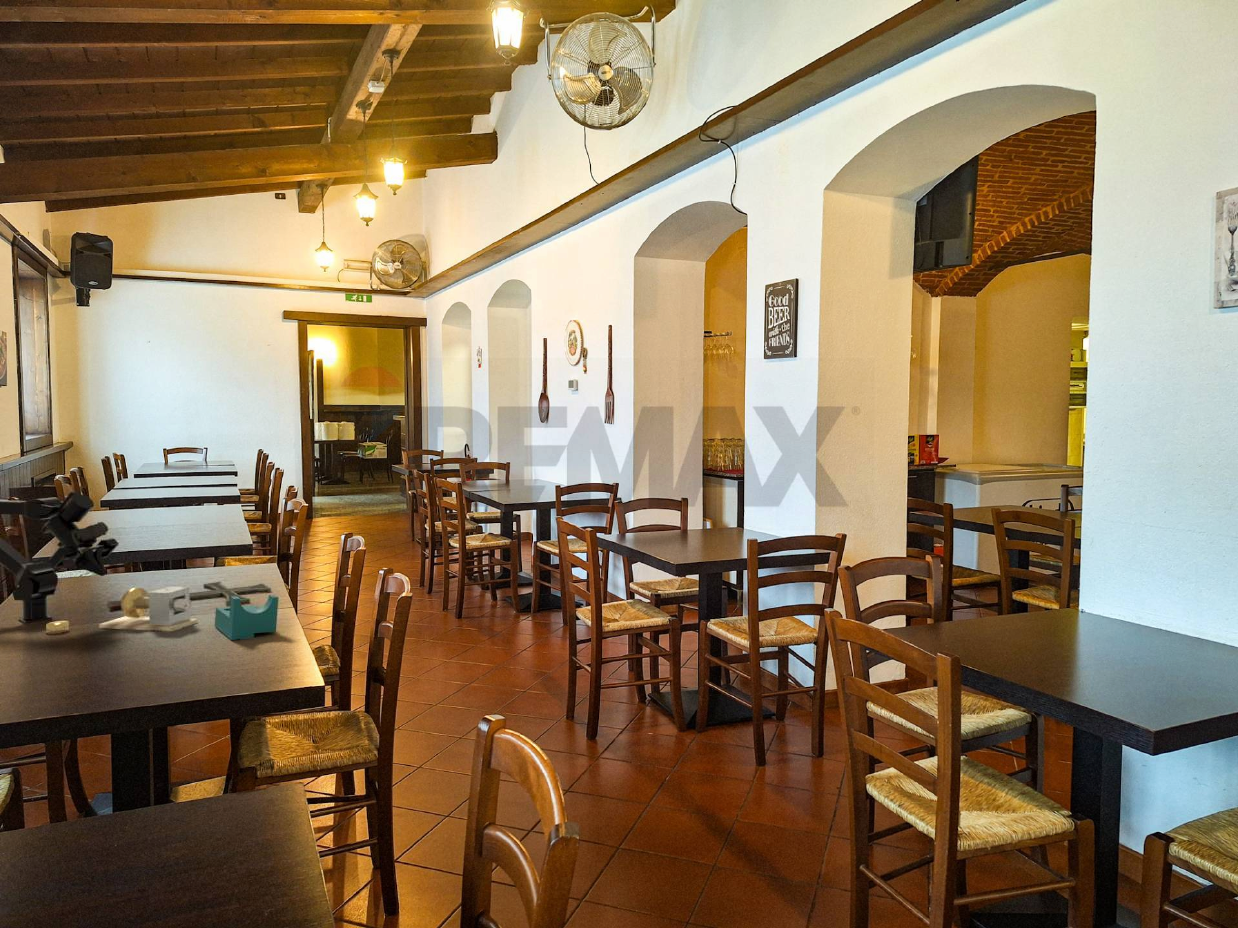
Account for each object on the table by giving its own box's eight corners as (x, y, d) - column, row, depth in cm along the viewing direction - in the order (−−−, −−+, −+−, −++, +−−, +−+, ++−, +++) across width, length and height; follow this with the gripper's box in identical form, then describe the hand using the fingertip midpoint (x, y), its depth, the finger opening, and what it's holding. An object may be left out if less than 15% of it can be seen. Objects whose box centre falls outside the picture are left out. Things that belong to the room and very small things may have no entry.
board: (99, 627, 226) (99, 624, 226) (127, 618, 235) (127, 615, 235) (172, 631, 222) (171, 627, 222) (197, 622, 231) (197, 618, 231)
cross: (101, 594, 262) (253, 577, 290) (101, 600, 262) (253, 583, 290) (116, 614, 234) (282, 594, 262) (116, 621, 235) (283, 600, 262)
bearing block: (149, 625, 224) (148, 592, 223) (170, 618, 232) (169, 586, 231) (169, 626, 223) (168, 593, 222) (190, 619, 231) (189, 587, 230)
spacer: (43, 632, 221) (43, 623, 221) (65, 628, 225) (64, 619, 225) (50, 635, 218) (50, 626, 218) (72, 631, 222) (71, 622, 222)
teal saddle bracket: (275, 636, 219) (278, 597, 219) (231, 639, 212) (234, 598, 212) (256, 623, 233) (259, 586, 233) (214, 626, 226) (217, 587, 226)
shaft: (121, 620, 225) (120, 591, 225) (143, 613, 233) (142, 585, 233) (177, 623, 222) (177, 593, 222) (198, 616, 230) (197, 587, 230)
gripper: (57, 517, 221) (94, 560, 220) (111, 510, 239) (146, 549, 238) (32, 546, 223) (69, 589, 222) (88, 536, 241) (123, 576, 240)
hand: (104, 574), depth 230 cm, fingers closed
